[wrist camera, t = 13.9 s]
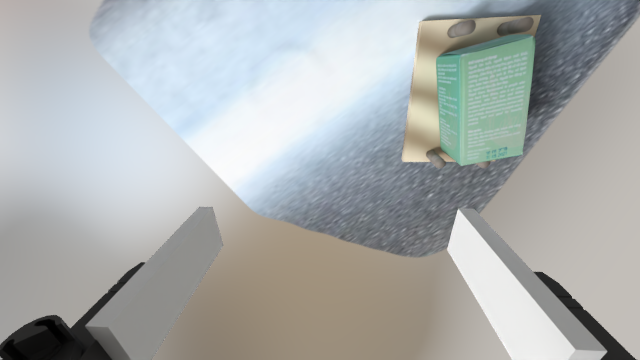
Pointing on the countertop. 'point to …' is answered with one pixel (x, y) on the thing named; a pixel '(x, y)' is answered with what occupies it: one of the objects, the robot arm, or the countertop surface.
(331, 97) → the countertop surface
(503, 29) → the tray
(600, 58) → the countertop surface
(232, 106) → the countertop surface
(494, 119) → the box
